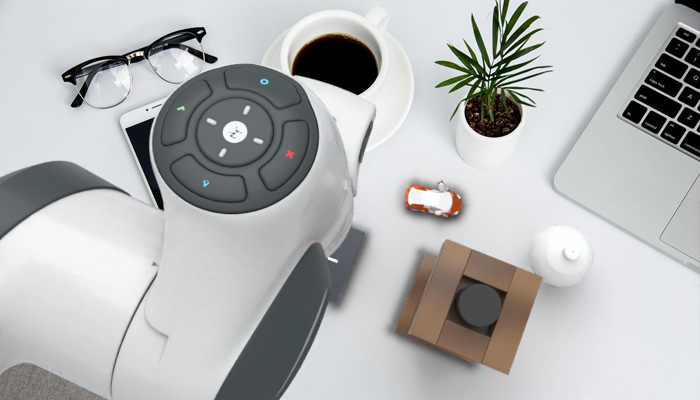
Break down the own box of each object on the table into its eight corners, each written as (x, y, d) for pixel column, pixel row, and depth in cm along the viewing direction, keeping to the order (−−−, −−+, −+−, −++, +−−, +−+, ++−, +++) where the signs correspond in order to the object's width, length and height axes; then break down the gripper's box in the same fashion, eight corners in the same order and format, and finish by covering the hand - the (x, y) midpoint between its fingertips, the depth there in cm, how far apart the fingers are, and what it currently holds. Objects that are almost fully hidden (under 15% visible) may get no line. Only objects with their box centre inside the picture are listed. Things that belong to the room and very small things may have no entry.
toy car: (458, 225, 85) (461, 221, 82) (401, 213, 86) (402, 210, 82) (464, 189, 86) (468, 184, 83) (408, 178, 86) (409, 173, 83)
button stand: (471, 363, 81) (511, 382, 58) (394, 330, 83) (403, 337, 59) (499, 285, 83) (549, 274, 60) (423, 255, 84) (443, 232, 61)
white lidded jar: (520, 291, 83) (545, 287, 71) (512, 235, 84) (535, 222, 73) (577, 286, 83) (611, 281, 71) (568, 230, 84) (600, 216, 72)
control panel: (337, 303, 84) (336, 302, 80) (257, 269, 85) (253, 268, 82) (365, 235, 85) (365, 232, 82) (286, 203, 86) (283, 199, 83)
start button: (487, 332, 60) (493, 333, 57) (448, 316, 60) (452, 317, 57) (501, 294, 61) (507, 293, 58) (462, 279, 61) (467, 277, 58)
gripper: (269, 370, 39) (295, 356, 52) (386, 84, 42) (382, 141, 56) (179, 332, 39) (228, 328, 53) (301, 53, 43) (318, 117, 56)
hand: (308, 230), depth 54 cm, fingers closed
